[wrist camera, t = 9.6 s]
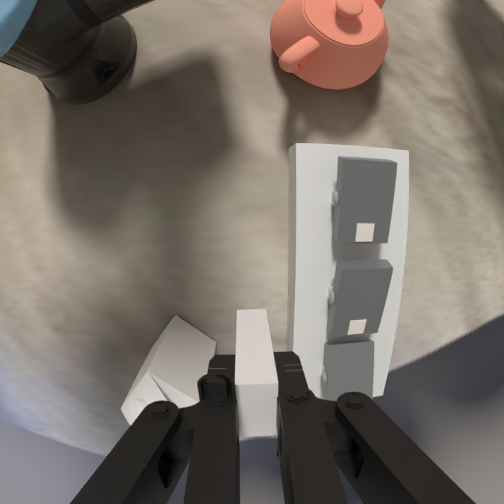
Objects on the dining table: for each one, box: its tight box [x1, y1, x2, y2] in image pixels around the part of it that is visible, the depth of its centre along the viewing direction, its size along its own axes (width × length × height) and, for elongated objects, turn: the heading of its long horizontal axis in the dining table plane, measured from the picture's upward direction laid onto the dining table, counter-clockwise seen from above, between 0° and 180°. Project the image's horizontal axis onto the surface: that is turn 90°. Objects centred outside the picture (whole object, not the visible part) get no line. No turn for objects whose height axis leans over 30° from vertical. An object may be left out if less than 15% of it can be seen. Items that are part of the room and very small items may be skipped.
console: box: [286, 143, 409, 399], centre depth 40 cm, size 34×15×7 cm, turn 1°
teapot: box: [270, 0, 388, 89], centre depth 30 cm, size 22×15×12 cm
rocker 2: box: [322, 339, 374, 401], centre depth 37 cm, size 9×6×3 cm
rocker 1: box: [332, 156, 397, 244], centre depth 33 cm, size 9×6×3 cm
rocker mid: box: [327, 259, 393, 337], centre depth 35 cm, size 9×6×3 cm
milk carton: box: [121, 315, 216, 426], centre depth 36 cm, size 7×7×19 cm
